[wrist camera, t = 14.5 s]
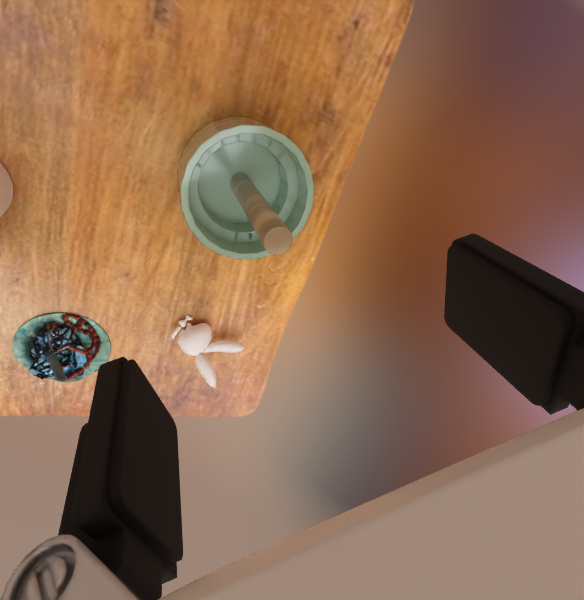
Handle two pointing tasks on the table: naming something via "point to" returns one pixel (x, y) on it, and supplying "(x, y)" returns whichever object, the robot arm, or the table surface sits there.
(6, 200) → the mug
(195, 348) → the rabbit figurine
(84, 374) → the dish
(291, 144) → the bowl
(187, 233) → the table surface
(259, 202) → the stick
